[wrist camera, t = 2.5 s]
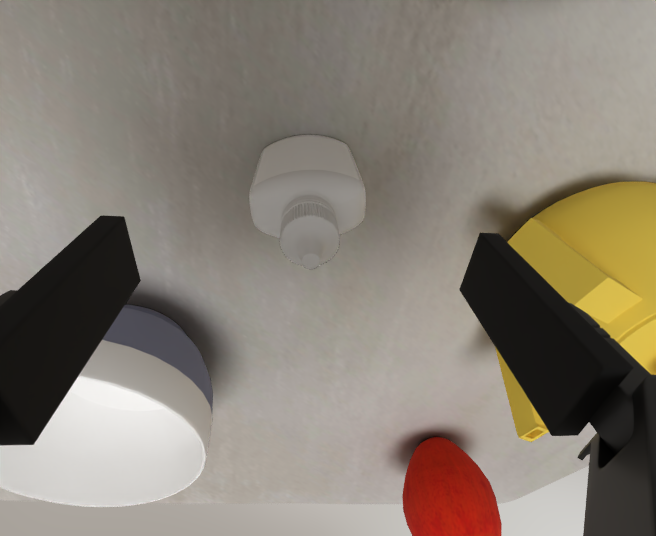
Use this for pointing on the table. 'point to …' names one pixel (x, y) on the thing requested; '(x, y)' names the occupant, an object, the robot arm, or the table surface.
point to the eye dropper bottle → (307, 196)
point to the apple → (448, 493)
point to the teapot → (595, 272)
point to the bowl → (122, 422)
